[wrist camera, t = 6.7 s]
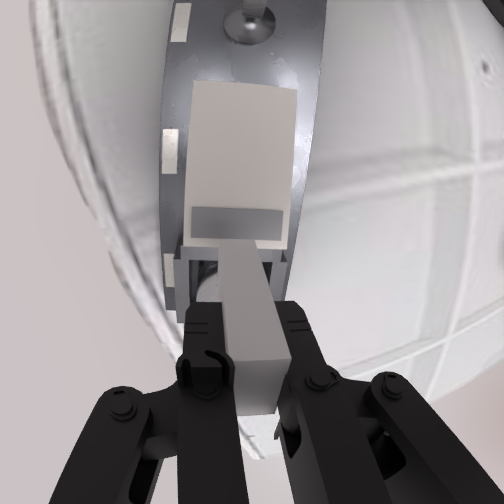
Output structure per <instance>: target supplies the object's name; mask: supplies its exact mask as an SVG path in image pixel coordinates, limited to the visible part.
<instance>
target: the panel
mask: <svg viewBox="0 0 504 504" xmlns="http://www.w3.org/2000/svg"><path fill="white" fill-rule="evenodd" d="M243 1H244V0H174V3H173V8H172V15H171V21H170V28H169V35H168V43H167V51H166V60H165V69H164V80H163V92H162V107H161V125H160V155H159V205H160V236H161V255H162V270H163V283H164V295H165V305H166V310H176V316H177V323H184V326H185V313H186V310H187V309H188V307H189V306H190V305H191V303H192V302H196V297H197V282H198V271H199V268H200V266H201V264H202V262H203V261H204V260H212V261H218V256H219V247H190V246H183V236H184V201H185V179H186V162H187V147H188V134H189V123H190V112H191V102H192V92H193V84H194V80H200V81H224V82H238V83H250V84H260V85H268V86H276V87H283V88H290V89H297V105H296V126H295V145H294V162H293V177H292V191H291V205H290V218H289V230H288V242H287V250H286V249H258V252H259V255H260V259H261V262H262V265H263V268H264V271H265V275H266V278H267V281H268V284H269V287H270V290H271V294H272V297H273V300H274V301H284V300H285V295H286V290H287V285H288V280H289V275H290V269H291V264H292V259H293V253H294V248H295V242H296V237H297V231H298V225H299V219H300V213H301V207H302V201H303V195H304V189H305V182H306V176H307V169H308V163H309V156H310V149H311V142H312V134H313V127H314V119H315V112H316V104H317V95H318V87H319V78H320V69H321V60H322V50H323V39H324V28H325V16H326V2H327V0H268V1H267V4H266V7H265V11H264V14H263V18H262V19H259V18H250V17H242V6H243Z"/></svg>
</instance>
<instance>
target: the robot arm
mask: <svg viewBox="0 0 504 504" xmlns="http://www.w3.org/2000/svg"><path fill="white" fill-rule="evenodd" d="M484 2H485V3H486V5H487V6H488V8H489V9H490V11H491V12H492V13H493V15H494V16H495V17H496V18H497V20H498V21H499V22H500V23H501V24H502V25H503V26H504V0H484ZM175 367H176V374H177V381H176V382H175V383H174V384H173V385H171V386H170V387H168V388H166V389H163V390H160V391H156V392H152V393H147V394H142V392H140V391H139V390H136V389H135V388H133V387H126V386H119V387H113V388H111V389H109V390H108V391H106V392H104V393H103V394H102V396H101V397H100V398H99V399H98V401H97V403H96V405H95V407H94V409H93V411H92V413H91V415H90V416H89V418H88V420H87V422H86V424H85V426H84V428H83V430H82V432H81V434H80V436H79V438H78V440H77V442H76V444H75V446H74V448H73V450H72V452H71V455H70V457H69V459H68V461H67V463H66V465H65V467H64V470H63V472H62V474H61V476H60V478H59V480H58V483H57V485H56V487H55V490H54V492H53V494H52V497H51V499H50V502H49V504H150V502H151V499H152V495H153V492H154V489H155V486H156V483H157V479H158V476H159V473H160V470H161V467H162V463H163V460H164V458H168V457H172V456H176V455H177V476H178V504H249V498H248V493H247V486H246V480H245V472H244V465H243V458H242V451H241V444H240V436H239V429H238V421H237V416H252V415H266V414H275V411H276V408H277V406H278V411H279V415H280V420H279V422H278V425H277V428H276V430H275V433H274V440H277V439H278V437H279V436H280V441H281V446H282V450H283V455H284V459H285V464H286V468H287V473H288V477H289V482H290V486H291V491H292V494H293V499H294V504H504V494H503V493H502V491H501V490H500V489H499V488H498V486H497V485H496V484H495V483H494V481H493V480H492V479H491V478H490V476H489V475H488V474H487V473H486V472H485V470H484V469H483V468H482V466H481V465H480V464H479V463H478V462H477V460H476V459H475V458H474V457H473V456H472V454H471V453H470V452H469V451H468V450H467V449H466V447H465V446H464V445H463V444H462V442H461V441H460V440H459V439H458V438H457V436H456V435H455V434H454V433H453V432H452V431H451V430H450V429H449V427H448V426H447V425H446V424H445V422H444V421H443V420H442V419H441V418H440V417H439V416H438V414H437V413H436V412H435V411H434V410H433V409H432V407H431V406H430V405H429V404H428V403H427V402H426V401H425V399H424V398H423V397H422V396H421V395H420V394H419V393H418V392H417V390H416V389H415V388H414V387H413V386H412V385H411V384H410V383H409V381H408V380H406V379H405V378H404V377H403V376H402V375H399V374H397V373H395V372H387V371H386V372H382V373H379V374H377V375H376V376H375V377H374V378H373V379H372V381H371V382H366V381H357V380H350V379H346V378H343V377H341V375H340V374H339V373H338V371H337V370H335V369H334V368H332V367H331V366H329V365H327V364H326V362H325V360H324V358H323V355H322V353H321V350H320V348H319V346H318V343H317V341H316V338H315V336H314V334H313V331H311V326H310V324H309V322H308V319H307V317H306V314H305V312H304V310H303V309H302V308H301V307H300V306H299V305H298V304H297V303H296V302H295V301H274V300H273V297H272V294H271V290H270V287H269V284H268V281H267V278H266V275H265V271H264V268H263V265H262V262H261V259H260V255H259V252H258V249H257V246H256V243H255V240H240V239H219V256H218V279H217V302H192V303H191V305H190V306H189V307H188V309H187V310H186V313H185V326H184V340H183V354H182V355H181V356H180V357H179V358H178V360H177V363H176V366H175Z"/></svg>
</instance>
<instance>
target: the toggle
mask: <svg viewBox="0 0 504 504" xmlns="http://www.w3.org/2000/svg"><path fill="white" fill-rule="evenodd" d="M267 1H268V0H244V1H243V6H242V17H250V18H259V19H262V18H263V14H264V11H265V7H266V4H267Z"/></svg>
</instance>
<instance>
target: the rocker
mask: <svg viewBox="0 0 504 504" xmlns="http://www.w3.org/2000/svg"><path fill="white" fill-rule="evenodd" d="M296 105H297V89H290V88H283V87H276V86H268V85H260V84H250V83H238V82H224V81H200V80H194V84H193V92H192V102H191V112H190V123H189V134H188V147H187V162H186V179H185V201H184V236H183V246H190V247H219V239H240V240H255V243H256V246H257V249H286V250H287V242H288V230H289V218H290V205H291V191H292V177H293V162H294V145H295V126H296Z"/></svg>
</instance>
